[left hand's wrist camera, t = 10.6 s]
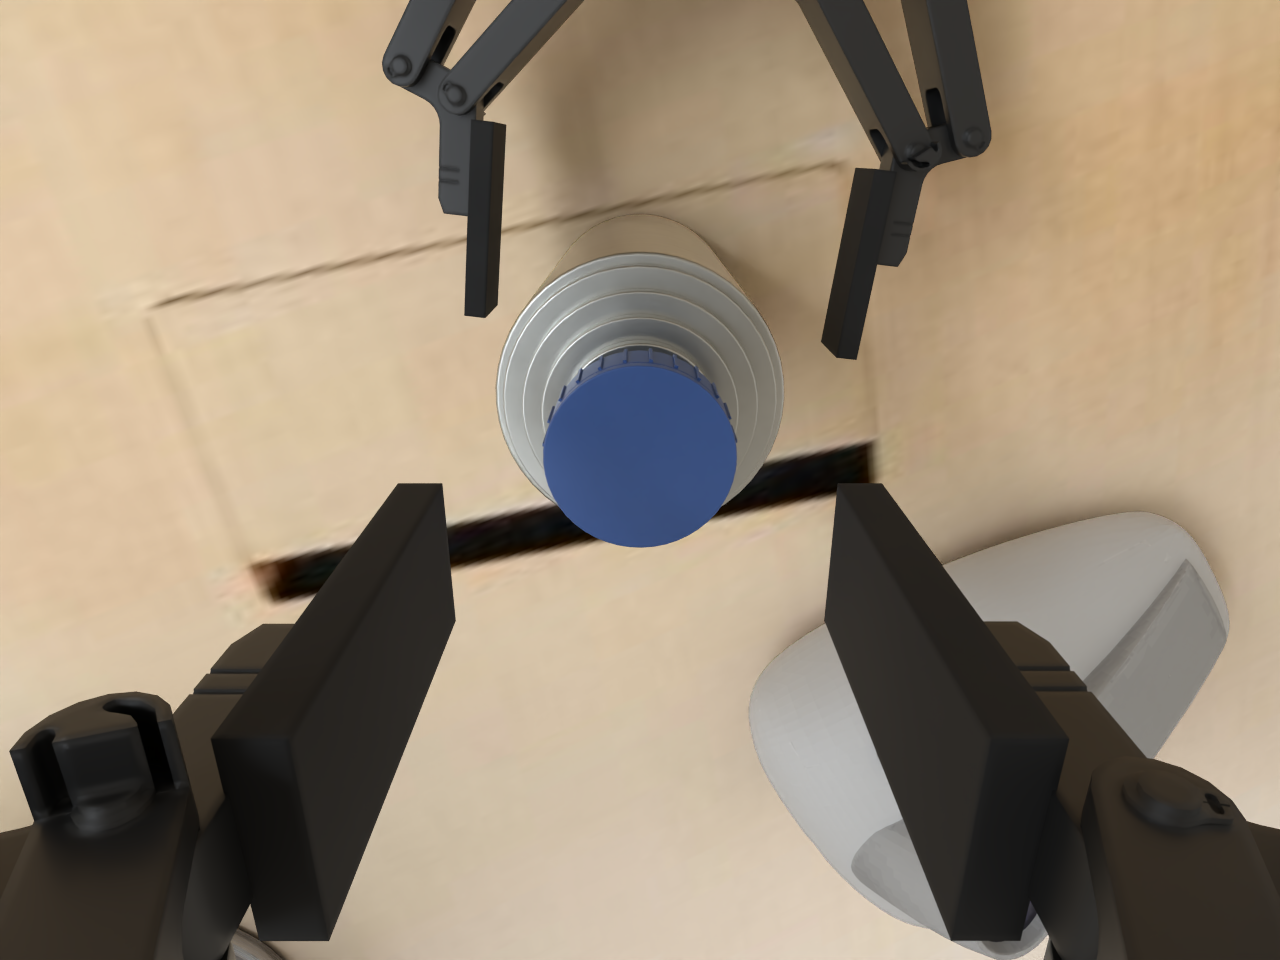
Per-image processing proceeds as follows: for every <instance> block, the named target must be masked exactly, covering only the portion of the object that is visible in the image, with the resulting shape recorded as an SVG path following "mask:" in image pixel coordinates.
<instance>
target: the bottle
mask: <svg viewBox="0 0 1280 960" xmlns="http://www.w3.org/2000/svg"><path fill="white" fill-rule="evenodd" d="M649 348H651V349H652V351H654V352H660V353H664V354H667V355H671V356H673V354H675V355H677V358H678V359H680V360H683V361H685V362H686V363H688V364H690V365H691V366H693V367H695V365H696V366H697V367H698V369H699V372H700V373H702V374H703V375H704V376H705V377H706V378H707V379H708V380H709V381H710V383H713V382H714V383H715V385H716V388H717V391H718V394H719V395H720V397H721V399H722V401H723V403H725V402H726V404H727V406H728V409H729V412H730V415H731V418H732V419H730V423H731V425H732V426H733V429H734V432H735V435H736V438H737V443H736V446H737V466H736V472H735V476H734V481H733V484H732V486H731V489H730V491H729V494H728V496H727V497H726V499H725V501H724V503H723V504H722V506H723V505H724V504H726V503H727V502H728V501H729V500H731V499H732V498H733V497H734V496H736V495H737V494H738V493H739V492H740V491H741V490H742V489H743V488H744V487H745V486H746V485H747V484H748V483H749V482H750V481H751V480H752V479H753V477H754V476H755V475H756V473H757V472H758V470H759V469H760V468H761V466H762V465H763V463H764V461H765V460H766V458H767V456H768V454H769V453H770V451H771V449H772V446H773V444H774V441H775V439H776V436H777V434H778V430H779V426H780V422H781V418H782V413H783V404H784V377H783V370H782V364H781V359H780V356H779V353H778V349H777V346H776V343H775V341H774V339H773V336H772V334H771V332H770V330H769V328H768V326H767V324H766V323H765V321H764V319H763V318H762V316H761V315H760V313H759V312H758V310H757V309H756V307H755V306H754V305H753V303H752V302H751V301H750V299H749V298H748V297H747V295H746V294H745V293H744V291H743V290H742V289H741V287H740V286H739V285H738V284H737V282H736V281H735V280H734V278H733V277H732V276H731V274H730V273H729V272H728V270H727V269H726V268H725V266H724V265H723V264H722V262H721V261H720V260H719V258H718V257H717V256H716V254H715V253H714V252H713V251H712V249H711V248H710V247H709V246H708V245H707V243H706V242H705V241H704V240H703V239H701V238H700V237H699V236H698V235H697V234H696V233H694V232H693V231H692V230H690V229H689V228H687V227H686V226H684V225H682V224H680V223H678V222H676V221H673V220H670V219H667V218H664V217H660V216H655V215H646V214H634V215H625V216H620V217H616V218H612V219H610V220H607V221H605V222H602V223H600V224H598V225H597V226H595V227H593V228H591V229H590V230H588V231H587V232H586V233H584V234H583V235H582V236H581V237H580V238H579V239H577V240H576V241H575V242H574V243H573V244H572V246H571V247H570V248H569V249H568V251H567V252H566V253H565V255H564V256H563V257H562V259H561V260H560V261H559V263H558V264H557V265H556V267H555V268H554V269H553V271H552V272H551V273H550V275H549V276H548V277H547V278H546V280H545V281H544V282H543V284H542V285H541V286H540V288H539V289H538V290H537V292H536V293H535V294H534V296H533V297H532V298H531V300H530V301H529V302H528V304H527V305H526V306H525V308H524V309H523V310H522V312H521V313H520V314H519V316H518V318H517V319H516V321H515V323H514V324H513V326H512V328H511V330H510V331H509V334H508V336H507V339H506V341H505V344H504V346H503V349H502V352H501V356H500V360H499V364H498V370H497V379H496V405H497V412H498V418H499V423H500V426H501V430H502V433H503V436H504V439H505V441H506V444H507V446H508V448H509V450H510V453H511V455H512V456H513V458H514V460H515V461H516V463H517V465H518V466H519V468H520V469H521V471H522V472H523V473H524V475H525V476H526V477H527V478H528V479H529V481H530V482H531V483H532V484H533V485H534V486H535V487H536V488H537V489H538V490H539V491H540V492H541V493H542V494H543V495H544V496H545V497H547V498H548V499H549V500H551V501H552V502H553V503H555V504H556V505H557V506H558V504H557V502H556V501H555V499H554V497H553V496H552V493H551V491H550V489H549V487H548V484H547V480H546V477H545V472H544V465H543V448H544V447H543V446H542V443H543V440H544V437H545V434H546V431H547V429H548V426H549V423H547V421H548V418H549V415H550V412H551V409H552V406H556V404H557V401H558V399H559V396H560V393H561V390H562V387H563V386H564V385H565V386H567V385H568V384H569V383H570V381H571V380H572V379H573V378H574V377H575V376H576V375H577V374H578V371H579V369H580V368H582V369H585V368H586V367H587V366H589V365H590V364H592V363H594V362H596V361H598V360H599V358H600V356H602V355H603V357H607V356H610V355H612V354H616V353H621V352H624V349H627V351H636V350H642V351H649Z"/></svg>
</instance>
